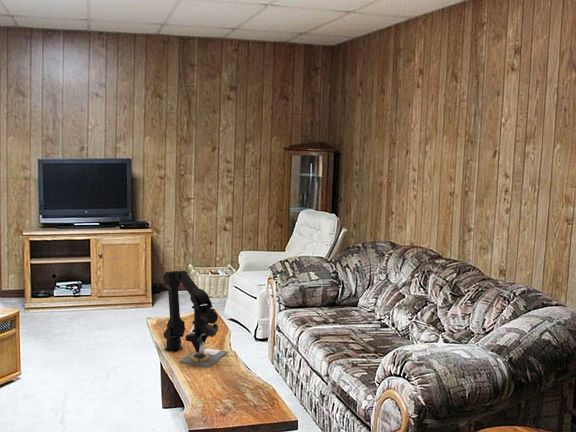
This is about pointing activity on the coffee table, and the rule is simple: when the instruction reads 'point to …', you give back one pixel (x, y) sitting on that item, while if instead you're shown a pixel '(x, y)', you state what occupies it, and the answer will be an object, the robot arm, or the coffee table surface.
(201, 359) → the brass octagonal ring
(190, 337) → the robot arm
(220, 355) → the board
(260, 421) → the coffee table surface
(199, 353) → the peg
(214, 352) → the mat
